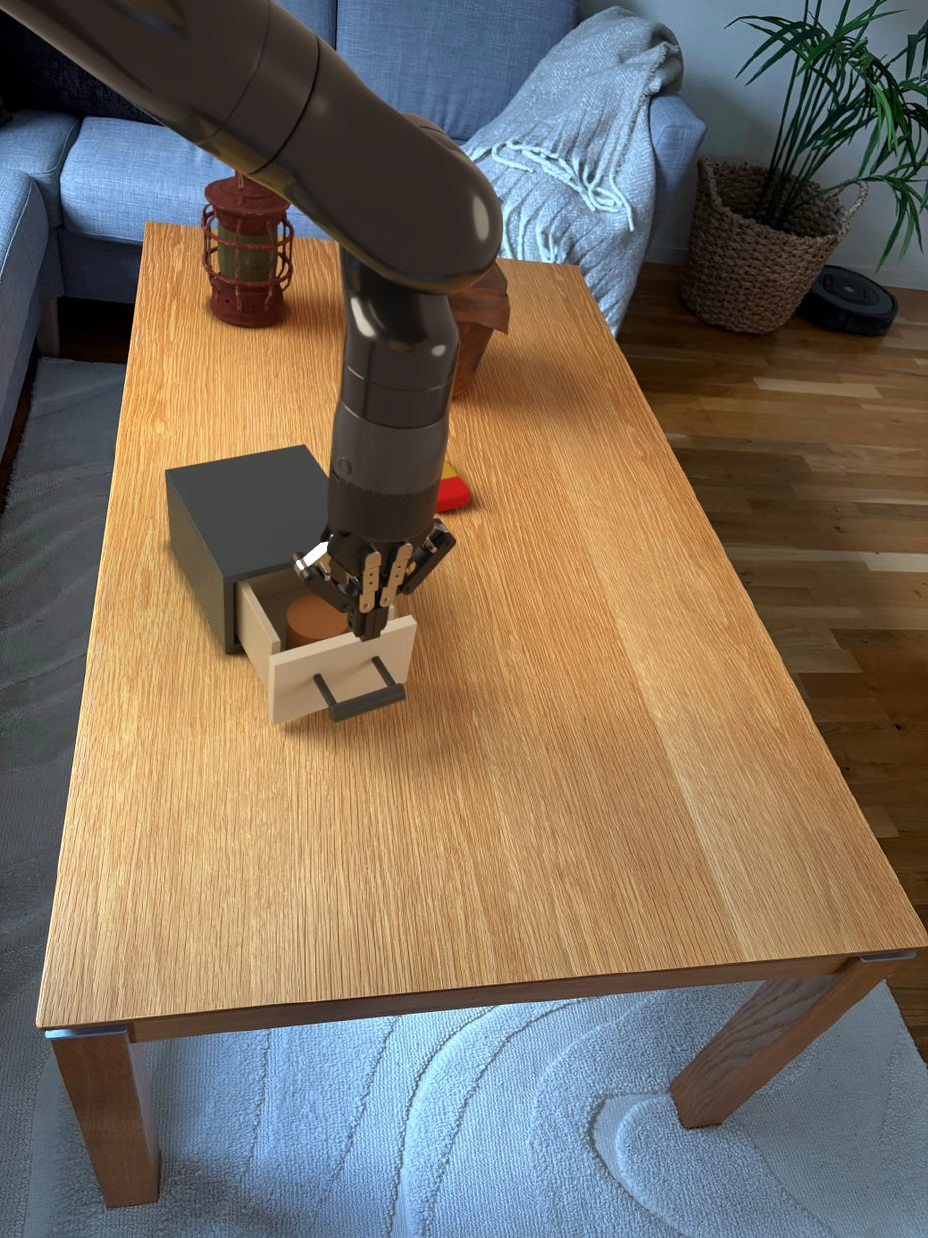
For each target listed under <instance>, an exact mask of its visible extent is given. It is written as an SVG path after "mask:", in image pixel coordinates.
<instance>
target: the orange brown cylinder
mask: <svg viewBox="0 0 928 1238" xmlns="http://www.w3.org/2000/svg"><path fill="white" fill-rule="evenodd" d="M347 614H348V612H347V613H340V612H339V611H338V610H336V609H335V608H334V607H332V606H331V605H330V604H329V603H327V602H326V601H325V600H323V599H322V598H321V597H319V596H318V595H317V594H310V595H305V596H302V597H300V598H298V599H297V600H295V601H294V602H293V603H292V604H291V605H290V607H289V609H288V611H287V624H286V647H285V648H286V651H288V650H291V649H295V648H298V647H302V646H305V645H308V644H312V643H315V642H319V641H322V640H326V639H329V638H332V637H336V636H339V635H343V634H346V633H349V628H350V627H349V626H348V624H347Z"/></svg>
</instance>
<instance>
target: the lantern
mask: <svg viewBox="0 0 928 1238" xmlns="http://www.w3.org/2000/svg"><path fill="white" fill-rule="evenodd" d="M203 195H204V198H205V199H206V201H207V202H208V203H207V204H205V205H204V206H203V208H202V213H201V217H200V228H201V230H202V231H203V254H202V255H201V258H202V259H201V264H202V267H203V268H204V270H205V272H206V273H207V276H208V277H207V278H208V282H209V285H210V287H211V290H212V291H211V295H210V300H209V305H208V306H209V309H210V311H211V313H212V315H213V316H214V317H216V318H217V319H218V320H220V321H222V322H224V323H227V324H229V325H231V326H234V327H240V328H246V329H247V328H266V327H268V326H272V325H275V324H277V323H280V322H281V321H282V320H283V319H284V318H285V316H286V314H287V307H286V305H285V297H284V292H285V291H286V290H287V289H288V288H289V287H290V286H291V283H292V277H293V274H294V265H293V263H292V258H293V242H294V238H295V234H296V233H295V228H294V226H293V224H292V223H291V221H290V220H289V219H288V212H287V210H289V209H290V207H291V205H292V204H291V203H289V202H288V201H286V200H285V199H284V198H282V197H281V196H279V195H278V194H276V193H275V192H273V191H271V190H270V189H268V188H266V187H264V186H262V185H260V184H258V183H256V182H254V181H253V180H251V179H249V178H248V177H246V176H244V175H243V174H241V173H239V172H237V171H236V170H234V175H232V176H230V177H226V178H220V179H216V180H213V181H211V182H209V183H208V184H207V185H206V186H205V187H204V190H203ZM210 206H212V210H209V211H208V212H207V209H208V208H209V207H210ZM215 219H217V235H216V234H214V233H213V232H212V225H211V224H213V221H214V220H215ZM281 223H282V226H283V228H282V229H283V230H282V232H283V233H282V240H279V226H280V224H281ZM287 228H288V233H289V234H288V235H287ZM212 240H214V241H215V242H217V245H215V246H213V247H212ZM288 243H289V244H288ZM287 244H288V245H289V246H288V255H287ZM279 247H282V251H279ZM215 252H217V263H218V270H219V271H218V272H215V271H214V270H213V265H212V254H214V253H215ZM279 258H280V259H281V269H280V271H279V273H278V275H277V270H278V263H279ZM286 264H287V266H288V267H287V271H286V273H285V274H284V275H283V273H284V271H285V268H286ZM282 275H283V276H282ZM285 281H287V282H286V284H285V286H284V287H282V285H281V284H282V283H284V282H285Z"/></svg>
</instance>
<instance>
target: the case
mask: <svg viewBox="0 0 928 1238" xmlns="http://www.w3.org/2000/svg"><path fill="white" fill-rule="evenodd" d="M507 291H508V279H507V277H506V276H505V274H504V272H503V270H502V269H501V267H500V266H499V264H498V263H497V261H496V260H495V262H494V264H493V265H492V267H491V268H490V270H489V271H488V272H487V274H486V275H485V276H484V277H483V278H482V279H480V280H479V281H478V282H477V283H475V284H474V285H472V286H471V287H469V288H467V289H465V290H463V291H460V292H457V293H454V294H450V295H447V297H448V301H449V304H450V307H451V310H452V313H453V315H454V318H455V321H456V323H457V326H458V330H459V336H460V348H459V358H458V365H457V371H456V377H455V382H454V388H453V393H452V398H453V397H456V396H458V395H459V394H462V393H463V392H465V391H466V390H467V389H468V388H469V387H470V385H471V384H472V382H473V380H474V377H475V375H476V373H477V371H478V368H479V365H480V363H481V361H482V358H483V356H484V354H485V351H486V350H487V347H488V345H489V342H490V340H491V338H492V336H493V333H494V331H498V332H501V334H504V335H506V336H510V333H509V327H510V317H511V304H510V296H509V294H508V292H507Z"/></svg>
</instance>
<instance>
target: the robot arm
mask: <svg viewBox="0 0 928 1238" xmlns="http://www.w3.org/2000/svg"><path fill="white" fill-rule="evenodd" d="M0 10H1V11H3V12H4V13H6V14H7V15H9V16H10V17H11V18H13V19H15V20H16V21H17V22H19V23H20V24H22V25H23V26H25V28H27V29H29V30H30V31H32V32H33V33H34V34H36V35H37V36H39V38H41V39H43V40H44V41H45V42H47V43H48V44H49V45H51V46H52V47H53V48H55V49H56V50H58V51H59V52H60V53H62V54H63V55H64V56H66V57H67V58H68V59H70V60H71V61H72V62H74V64H75V63H76V65H78V66H79V67H80V68H82V69H83V70H85V71H86V72H87V73H89V74H90V75H91V76H93V77H94V78H96V79H97V80H98V81H100V82H101V83H103V84H104V85H105V86H106V87H108V88H110V89H111V90H112V91H114V92H115V93H116V94H118V95H119V96H120V97H122V98H123V99H125V100H126V101H128V102H129V103H131V104H132V105H134V107H136V108H138V109H139V110H140V111H142V112H143V113H145V114H146V115H148V116H149V117H151V118H152V119H154V120H155V121H157V122H158V123H160V124H161V125H163V126H164V127H166V128H168V129H169V130H170V131H172V132H174V133H175V134H177V135H178V136H180V137H182V138H183V139H184V140H186V141H188V142H189V143H191V144H193V145H194V146H196V147H197V148H199V149H201V150H202V151H203V152H204V153H207V154H208V155H210V156H212V157H213V158H215V159H217V160H218V161H219V162H221V163H223V164H224V165H226V166H228V167H229V168H231V169H233V170H234V171H235V170H236V171H237V172H239V173H241V174H243V175H244V176H246V177H248V178H249V179H251V180H253V181H254V182H256V183H258V184H260V185H262V186H264V187H266V188H268V189H270V190H271V191H273V192H275V193H276V194H278V195H279V196H281V197H282V198H284V199H285V200H286V201H288V202H289V203H291V205H292V206H293V207H294V208H295V209H297V210H298V211H299V212H300V213H302V215H304V216H306V218H307V219H309V221H311V222H312V223H313V224H314V225H315V226H317V228H319V229H321V230H322V231H323V232H324V233H325V234H327V235H328V236H329V237H331V239H333V240H334V241H335V242H337V243H338V250H339V251H338V252H339V265H340V277H341V287H342V295H343V296H342V297H343V303H344V305H343V306H344V313H345V314H344V316H345V317H344V318H345V328H344V335H343V343H342V350H341V351H342V354H341V355H342V356H341V368H340V378H339V379H340V381H339V389H338V390H339V391H338V397H337V400H336V406H335V409H334V414H333V419H332V427H331V443H330V455H329V456H330V457H329V468H328V469H329V470H328V478H329V481H328V495H327V511H328V520H327V523H326V525H325V527H324V528H323V530H322V531H321V534H320V542H321V544H319V545H318V546H317V547H316V548H315V549H313V550H312V551H311V552H310V553H309V554H305V553H304V552H297V553H295V554H293V555H292V556H291V558H290V562H291V564H292V565H293V567H294V569H295V571H296V572H297V574H298V575H299V577H300V579H301V580H302V582H303V583H304V585H305V586H306V587H308V588H309V589H310V590H311V591H313V592H314V593H315V594H317V595H318V596H319V597H321V598H322V599H323V600H325V601H326V602H327V603H329V604H330V605H331V606H332V607H334V608H335V609H336V610H338V611H339V612H340V613H347V612H348V614H347V624H348V626H349V627H350V629H351V630H352V632H353V634H354V635H355V637H356V638H357V637H359V638H360V640H361V641H362V642H366V641H369V640H372V639H376V638H379V637H380V635H381V630H384V629H385V627H386V625H387V619H388V613H389V606H390V605H391V604H393V603H394V601H395V598H396V597H397V596H399V595H400V594H402V595H403V596H409V595H411V594H413V593H414V592H415V591H416V589H417V588H419V586H420V585H421V584H422V583H423V582H424V580H426V578H427V577H428V576H429V575H430V574H431V573H432V572H433V571H434V570H435V568H436V567H437V566H438V565H439V564H440V563H441V562H442V561H443V560H444V559H445V557H446V556H447V555H448V554H449V553H450V552H451V551H452V549H453V548H454V547H455V546H456V544H457V539H456V537H455V536H454V535H453V534H452V532H451V531H450V530H449V529H448V527H447V526H446V525H445V523H444V522H443V521H442V520H441V518H439V517H435V515H436V512H435V510H436V504H437V499H438V493H439V488H440V482H441V477H442V471H443V465H444V460H446V454H447V448H448V444H449V443H448V442H449V435H450V411H451V404H452V399H453V397H452V393H453V388H454V382H455V377H456V371H457V365H458V358H459V348H460V336H459V330H458V326H457V323H456V321H455V318H454V315H453V313H452V310H451V307H450V304H449V301H448V297H447V295H450V294H454V293H457V292H460V291H463V290H465V289H467V288H469V287H471V286H472V285H474V284H475V283H477V282H478V281H479V280H480V279H482V278H483V277H484V276H485V275H486V274H487V272H488V271H489V270H490V268H491V267H492V265H493V264H494V262H495V261H496V260H497V258H498V255H499V253H500V250H501V247H502V243H503V236H504V217H503V216H504V215H503V210H502V206H501V202H500V200H499V197H498V194H497V192H496V189H495V188H494V186H493V185H492V182H491V181H490V180H489V178H488V177H487V175H486V174H485V173H484V172H483V171H482V170H481V169H480V167H479V166H478V165H477V164H476V163H475V162H474V161H473V160H472V159H471V158H470V157H469V156H468V155H467V154H466V152H465V151H464V150H462V148H461V147H460V146H459V145H458V144H457V143H456V142H455V141H454V139H453V138H452V137H451V136H450V135H449V134H448V133H447V132H446V131H445V130H444V129H443V128H441V126H439V125H438V124H437V123H435V122H433V121H432V120H430V119H428V118H426V117H425V116H422V115H419V114H416V113H412V112H405V111H401V112H400V111H398V110H397V109H395V107H393V106H392V105H390V104H389V103H388V102H386V101H385V100H384V99H382V98H381V97H380V96H379V95H378V94H376V93H375V91H373V90H372V89H371V88H370V87H369V85H367V84H366V82H365V81H364V80H363V79H362V78H361V77H360V76H359V74H358V73H357V72H356V71H355V70H354V69H353V68H352V67H351V66H350V64H349V63H348V62H347V61H346V60H345V59H344V58H343V57H342V56H341V55H340V54H339V53H338V52H337V51H336V50H335V49H334V48H333V47H332V46H331V45H330V44H329V43H327V42H326V41H325V40H324V39H323V38H322V37H321V36H319V35H318V34H317V33H316V32H314V31H313V30H312V29H310V27H308V26H307V25H306V24H305V23H303V22H302V21H301V20H300V19H298V18H297V16H295V15H293V14H292V13H291V12H289V11H288V10H287V9H286V8H284V6H282V5H281V4H279V2H277V1H275V0H0ZM434 517H435V518H434ZM331 558H332V559H333V560H334V561H335V562H336V563H337V564H338V565H339V566H341V567H342V568H343V569H344V570H345V571H346V584H341V583H340V582H339V581H338V580H337V579H336V578H335V577H333V576H332V575H331V574H330V572H331V567H330V566H329V561H330V560H331ZM413 563H415V567H414V568H413V570H412V571H411V572H410V573H408V572H407V570H408V569H409V568H410V566H412V564H413Z"/></svg>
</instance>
